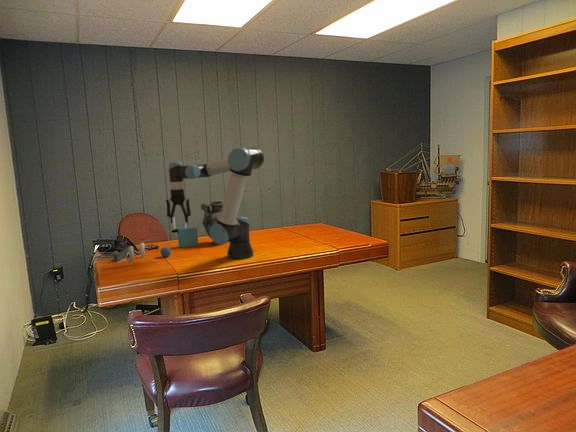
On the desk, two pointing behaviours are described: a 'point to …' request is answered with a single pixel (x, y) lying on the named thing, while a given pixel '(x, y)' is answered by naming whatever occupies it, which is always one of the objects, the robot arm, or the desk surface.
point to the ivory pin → (142, 250)
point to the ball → (165, 251)
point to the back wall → (121, 255)
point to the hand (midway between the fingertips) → (179, 228)
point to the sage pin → (131, 253)
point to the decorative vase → (211, 215)
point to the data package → (188, 237)
